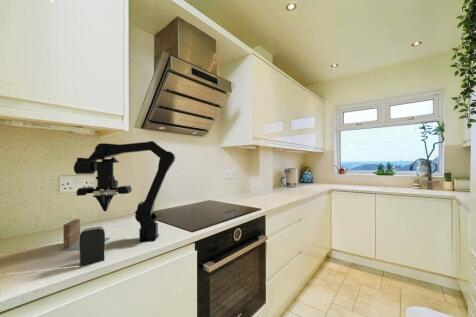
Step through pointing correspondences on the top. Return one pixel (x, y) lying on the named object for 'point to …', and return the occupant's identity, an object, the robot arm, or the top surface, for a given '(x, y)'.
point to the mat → (75, 247)
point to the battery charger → (92, 246)
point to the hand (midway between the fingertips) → (105, 211)
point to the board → (71, 233)
